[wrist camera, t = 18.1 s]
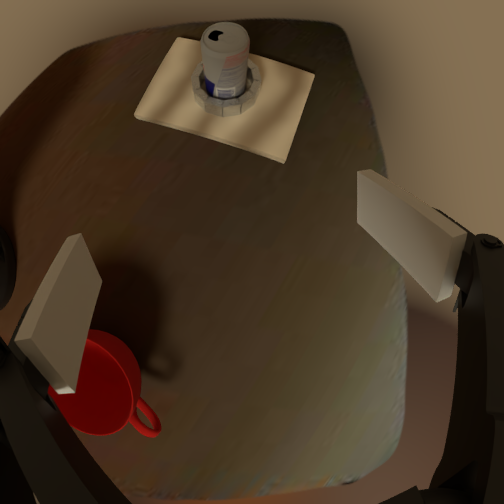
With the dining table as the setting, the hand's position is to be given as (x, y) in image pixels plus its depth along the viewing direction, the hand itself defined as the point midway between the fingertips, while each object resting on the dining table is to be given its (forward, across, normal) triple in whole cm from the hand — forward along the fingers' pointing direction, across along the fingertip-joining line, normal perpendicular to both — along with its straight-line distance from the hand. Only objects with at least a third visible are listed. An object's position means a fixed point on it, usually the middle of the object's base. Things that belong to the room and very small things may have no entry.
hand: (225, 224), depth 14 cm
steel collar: (+32, +5, +5) cm, 33 cm away
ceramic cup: (+16, -18, -26) cm, 35 cm away
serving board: (+34, +5, +4) cm, 34 cm away
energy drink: (+33, +5, +4) cm, 33 cm away
